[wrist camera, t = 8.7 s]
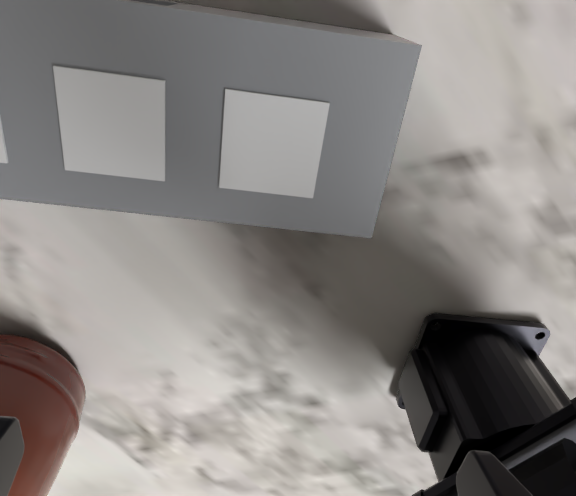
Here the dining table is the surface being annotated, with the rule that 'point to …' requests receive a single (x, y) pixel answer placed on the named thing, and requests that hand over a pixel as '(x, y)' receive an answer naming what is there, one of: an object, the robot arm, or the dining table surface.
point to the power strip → (199, 113)
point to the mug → (39, 409)
